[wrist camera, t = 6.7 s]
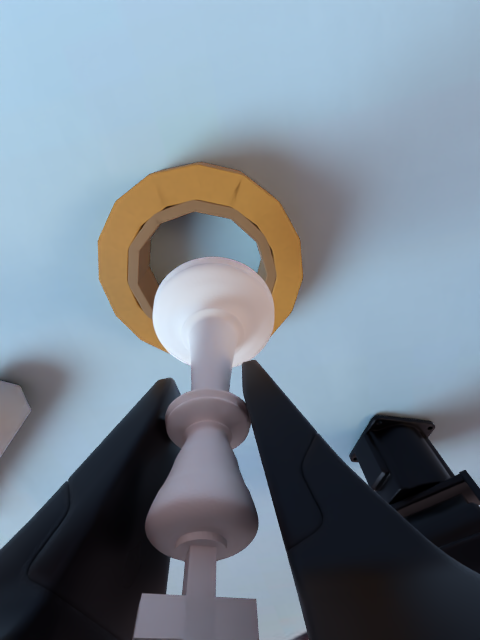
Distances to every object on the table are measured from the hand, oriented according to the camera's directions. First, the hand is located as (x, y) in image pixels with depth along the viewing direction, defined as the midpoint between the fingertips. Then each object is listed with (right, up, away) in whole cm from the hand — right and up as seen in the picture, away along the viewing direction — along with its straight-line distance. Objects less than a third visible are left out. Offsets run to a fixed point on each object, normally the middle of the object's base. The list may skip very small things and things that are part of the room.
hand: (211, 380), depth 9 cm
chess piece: (0, +2, +4) cm, 4 cm away
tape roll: (-2, +6, +11) cm, 12 cm away
